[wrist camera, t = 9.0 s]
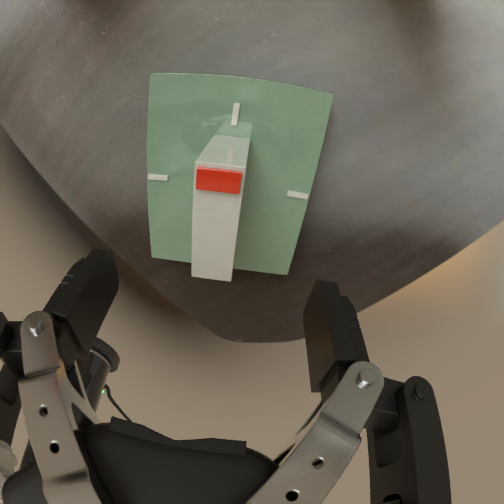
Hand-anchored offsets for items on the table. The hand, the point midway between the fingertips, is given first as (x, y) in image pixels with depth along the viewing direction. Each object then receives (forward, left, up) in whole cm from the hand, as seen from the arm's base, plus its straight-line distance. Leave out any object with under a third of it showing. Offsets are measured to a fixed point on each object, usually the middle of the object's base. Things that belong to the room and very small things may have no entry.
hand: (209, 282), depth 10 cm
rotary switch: (0, 0, -11) cm, 11 cm away
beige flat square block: (0, 0, -9) cm, 9 cm away
